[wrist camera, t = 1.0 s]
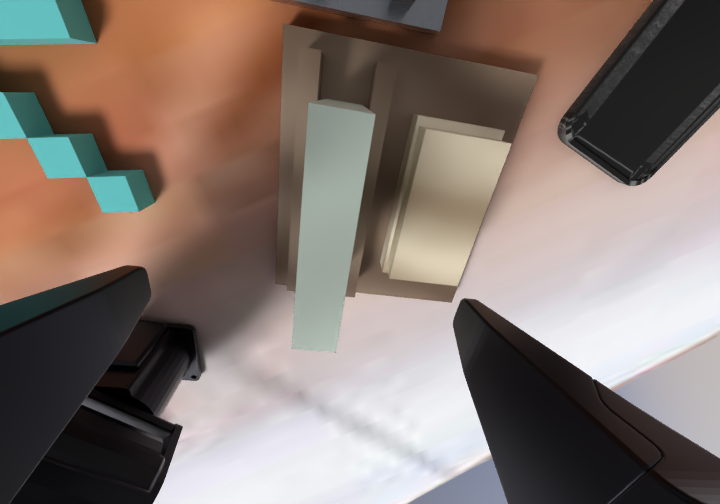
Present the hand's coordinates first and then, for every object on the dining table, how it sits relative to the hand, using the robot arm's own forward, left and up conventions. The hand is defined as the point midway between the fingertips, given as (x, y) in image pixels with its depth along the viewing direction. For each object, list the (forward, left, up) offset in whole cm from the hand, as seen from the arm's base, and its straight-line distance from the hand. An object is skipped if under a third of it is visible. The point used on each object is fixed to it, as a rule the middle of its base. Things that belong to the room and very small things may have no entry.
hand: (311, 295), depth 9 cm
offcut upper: (0, -7, -10) cm, 12 cm away
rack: (0, -4, -13) cm, 13 cm away
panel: (0, 0, -12) cm, 12 cm away
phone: (+11, -20, -13) cm, 26 cm away
